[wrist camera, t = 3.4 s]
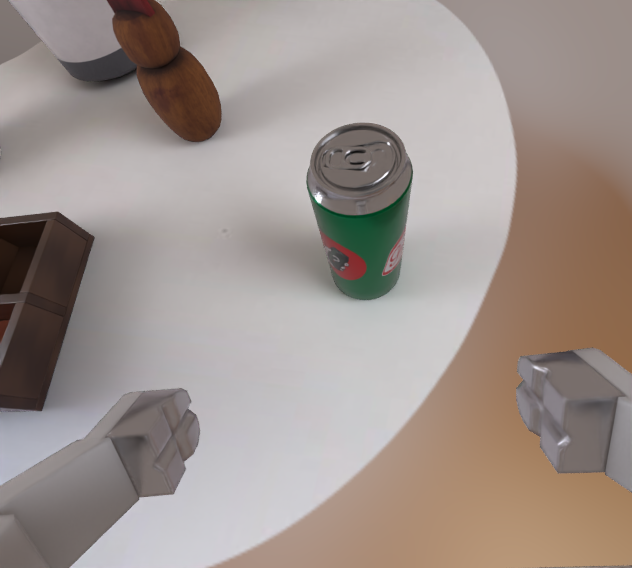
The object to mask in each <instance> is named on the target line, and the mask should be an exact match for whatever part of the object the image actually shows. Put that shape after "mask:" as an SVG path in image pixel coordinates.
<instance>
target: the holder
mask: <svg viewBox="0 0 632 568" xmlns="http://www.w3.org/2000/svg"><path fill="white" fill-rule="evenodd" d="M93 240H94V236H92V235H91V234H89V233H88V232H86V231H85V230H84V229H82V228H81V227H79V226H78V225H76V224H75V223H74V222H72V221H71V220H69V219H68V218H66V217H65V216H64V215H62V214H61V213H59V212H51V213H42V214H33V215H24V216H15V217H7V218H0V412H10V411H42V409H43V405H44V402H45V399H46V395H47V392H48V389H49V386H50V382H51V379H52V376H53V372H54V369H55V366H56V362H57V359H58V356H59V352H60V349H61V346H62V343H63V339H64V336H65V333H66V329H67V326H68V323H69V319H70V316H71V313H72V310H73V306H74V303H75V300H76V296H77V293H78V290H79V286H80V283H81V280H82V276H83V273H84V270H85V267H86V263H87V260H88V257H89V253H90V250H91V247H92V243H93Z"/></svg>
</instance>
